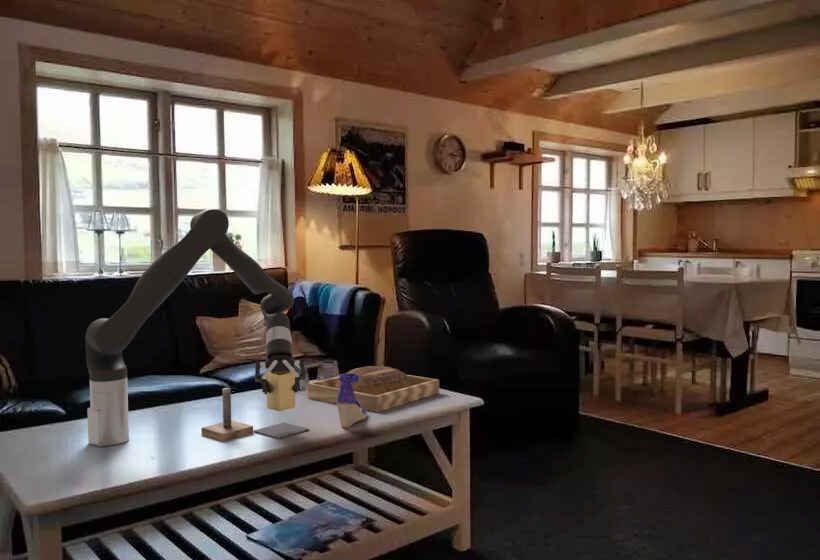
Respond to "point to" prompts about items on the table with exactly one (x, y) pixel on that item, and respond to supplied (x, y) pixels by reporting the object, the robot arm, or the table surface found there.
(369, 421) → the table surface
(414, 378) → the bread tray
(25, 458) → the table surface
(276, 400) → the sleeve
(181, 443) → the table surface
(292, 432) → the mat
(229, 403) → the peg stand
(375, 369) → the bread
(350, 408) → the purple wedge sandal
